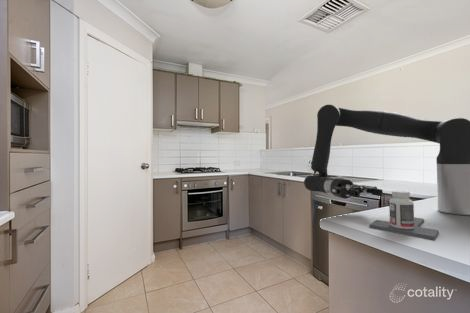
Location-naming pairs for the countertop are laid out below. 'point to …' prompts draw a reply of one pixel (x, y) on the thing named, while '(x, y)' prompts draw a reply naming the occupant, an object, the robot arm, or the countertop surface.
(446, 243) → the countertop surface
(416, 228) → the t mat
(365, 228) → the countertop surface
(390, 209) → the pill bottle
